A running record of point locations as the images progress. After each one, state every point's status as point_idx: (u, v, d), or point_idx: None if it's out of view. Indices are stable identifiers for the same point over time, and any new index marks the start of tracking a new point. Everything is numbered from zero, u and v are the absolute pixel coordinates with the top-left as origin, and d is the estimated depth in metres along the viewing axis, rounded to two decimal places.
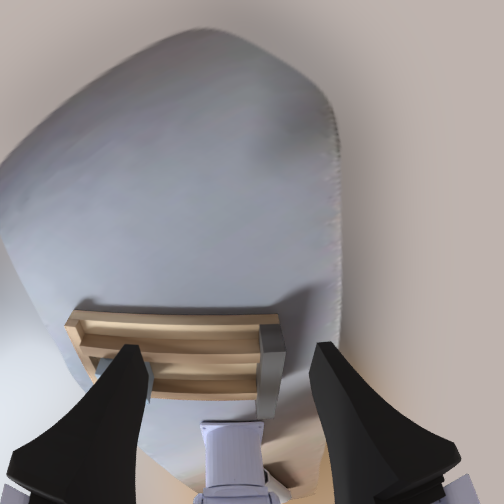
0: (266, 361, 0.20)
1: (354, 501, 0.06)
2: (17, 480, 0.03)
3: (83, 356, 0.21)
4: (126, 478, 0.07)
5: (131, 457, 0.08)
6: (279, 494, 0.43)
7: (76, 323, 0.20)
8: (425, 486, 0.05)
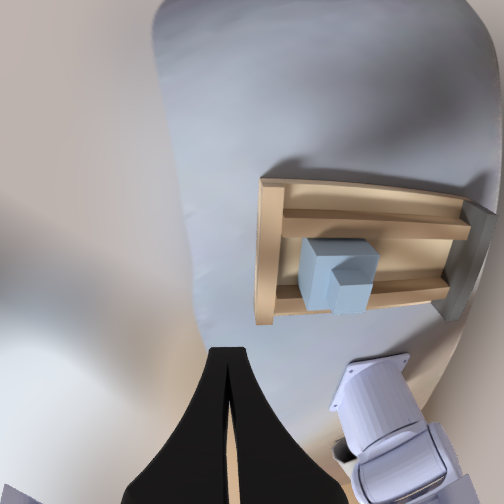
0: (486, 226, 0.16)
1: None
2: None
3: (269, 246, 0.17)
4: (227, 487, 0.07)
5: (226, 464, 0.08)
6: None
7: (282, 185, 0.16)
8: None
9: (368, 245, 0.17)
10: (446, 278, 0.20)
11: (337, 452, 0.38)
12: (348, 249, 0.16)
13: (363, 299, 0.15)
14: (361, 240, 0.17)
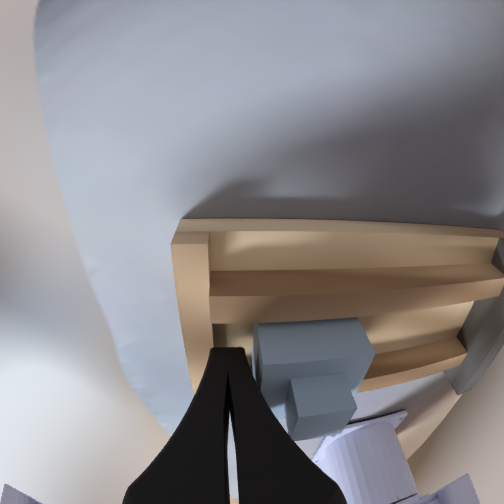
0: None
1: None
2: None
3: (196, 329, 0.11)
4: (228, 487, 0.07)
5: (227, 464, 0.08)
6: None
7: (207, 238, 0.09)
8: None
9: (359, 330, 0.10)
10: (464, 340, 0.14)
11: None
12: (323, 343, 0.09)
13: (339, 423, 0.08)
14: (348, 318, 0.11)
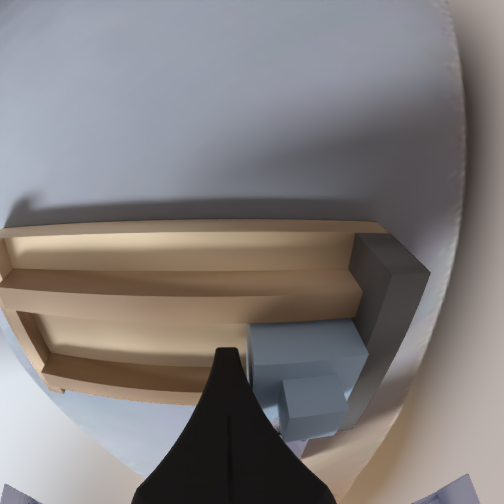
0: (390, 300, 0.08)
1: None
2: None
3: (10, 314, 0.10)
4: None
5: None
6: None
7: None
8: None
9: (352, 331, 0.10)
10: None
11: None
12: (316, 344, 0.09)
13: (332, 425, 0.08)
14: (341, 318, 0.11)
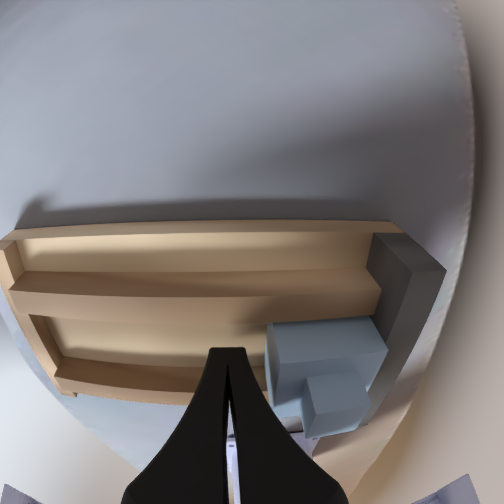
0: (409, 297, 0.08)
1: None
2: None
3: (22, 317, 0.10)
4: (227, 487, 0.07)
5: (226, 464, 0.08)
6: None
7: (8, 245, 0.09)
8: None
9: (371, 328, 0.10)
10: None
11: None
12: (338, 341, 0.10)
13: (354, 420, 0.08)
14: (360, 316, 0.11)
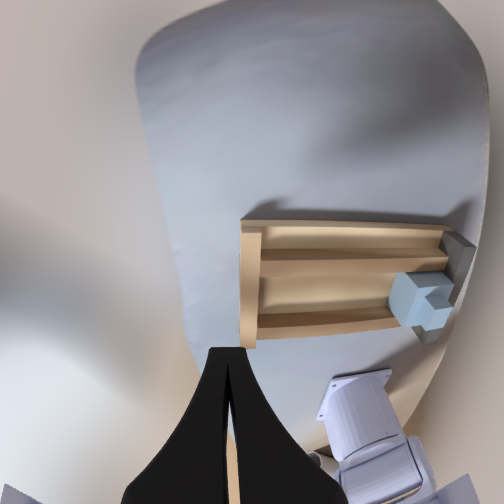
0: (463, 258, 0.17)
1: None
2: None
3: (249, 283, 0.19)
4: (227, 487, 0.07)
5: (226, 464, 0.08)
6: None
7: (260, 229, 0.18)
8: None
9: (444, 276, 0.19)
10: None
11: None
12: (434, 280, 0.19)
13: (445, 318, 0.17)
14: (438, 271, 0.20)
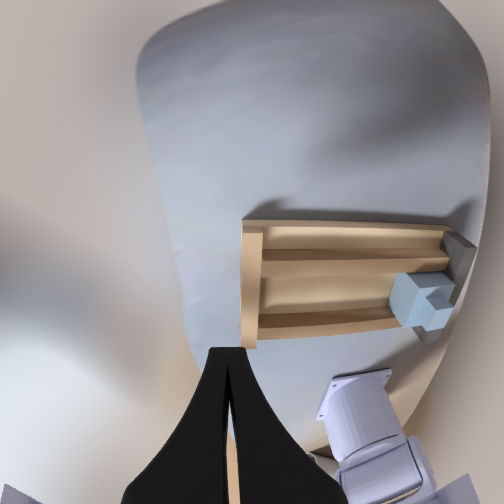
0: (463, 259, 0.17)
1: None
2: None
3: (250, 283, 0.19)
4: (227, 487, 0.07)
5: (226, 464, 0.08)
6: None
7: (261, 229, 0.18)
8: None
9: (445, 276, 0.19)
10: None
11: None
12: (435, 280, 0.19)
13: (445, 318, 0.17)
14: (438, 271, 0.20)
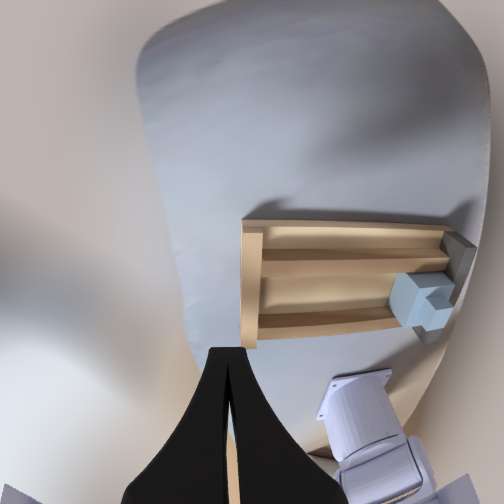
0: (463, 259, 0.17)
1: None
2: None
3: (250, 283, 0.19)
4: (227, 487, 0.07)
5: (226, 464, 0.08)
6: None
7: (261, 229, 0.18)
8: None
9: (445, 276, 0.19)
10: None
11: None
12: (435, 280, 0.19)
13: (445, 318, 0.17)
14: (438, 271, 0.20)
